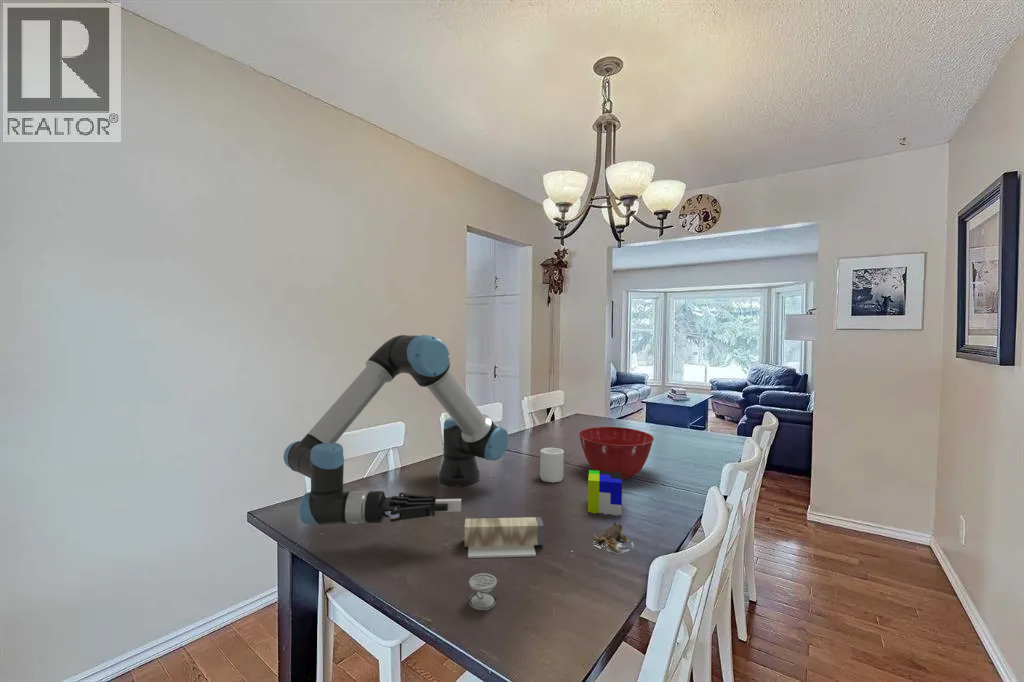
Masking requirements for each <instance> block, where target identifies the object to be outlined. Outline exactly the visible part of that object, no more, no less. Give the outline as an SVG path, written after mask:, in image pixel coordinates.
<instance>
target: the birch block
mask: <svg viewBox="0 0 1024 682" xmlns="http://www.w3.org/2000/svg"><path fill="white" fill-rule="evenodd" d="M544 527H545V526H544V522H543V519H542V517H541V516H535V517H534V516H530V517H492V518H491V517H487V518H486V517H485V518H484V517H483V518H481V517H480V518H478V517H477V518H465V519H464V548H468V547H484V546H523V545H534V546H544V532H545V531H544Z"/></svg>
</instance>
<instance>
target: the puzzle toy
mask: <svg viewBox="0 0 1024 682" xmlns="http://www.w3.org/2000/svg"><path fill="white" fill-rule="evenodd" d="M622 502H623V480H622V479H621V472H607V471H594V470H593V469H589V470H588V481H587V513H588V512H591V513H590V514H596V513H604V514H603V515H607V514H615V515H614V516H618V515H622V509H623V508H622V507H623V503H622Z"/></svg>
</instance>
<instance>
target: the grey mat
mask: <svg viewBox="0 0 1024 682" xmlns="http://www.w3.org/2000/svg"><path fill="white" fill-rule="evenodd" d="M467 549H468V550H467V559H485V558H486V559H487V558H488V559H489V558H492V559H493V558H523V557H524V558H525V557H527V558H529V557H537V554H536V549H535V545H523V546H484V547H467Z"/></svg>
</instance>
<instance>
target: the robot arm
mask: <svg viewBox="0 0 1024 682" xmlns="http://www.w3.org/2000/svg"><path fill="white" fill-rule="evenodd" d="M449 355H450V351H449V348H448V346H447V345H446V343H445V342H444V341H443V340H442V339H440V338H439V337H437V336H433V335H428V334H427V335H426V334H421V335H409V334H408V335H407V334H400V335H396V336H394V337H392V338H390V339H388V340H387V341H385V342H384V343H383V344H382V345H380V347H378V348H377V350H375V351H374V353H372V355H371V356H369V358H368V359H367V360H366V361H365V368H364V369H363V370H362V371H361V372H360V373H359V375H357V377H356V378H355V379H354V380H353V381H352V382H351V384H350V385H349V386H348V387H347V388H346V389H345V391H343V392H342V394H341V395H340V396H339V397H338V398H337V399H336V401H335V402H334V403H333V404H332V405H331V406H330V407H329V409H328V410H327V411H325V413H324V414H323V415H322V417H321V418H320V419H319V420H318V421H317V422H316V423H315V425H313V427H312V428H311V429H310V430H309V431H308V433H306V434H305V435H304V437H303V438H302V439H301V440H298V441H294V442H291V443H290V444H289V445H287V447H286V448H285V449H284V452H283V461H284V464H285V465H286V466H287V467H288V468H290V470H291V471H293V472H297V473H299V474H301V475H303V476H305V477H307V478H309V479H310V492H306V493H305V494H304V495H303V496H302V498H301V499H300V500H301V501H300V503H299V505H300V506H299V513H298V514H299V515H298V516H299V519H300V521H301V523H303V524H306V525H319V526H320V525H321V526H322V525H337V524H341V525H342V524H346V525H347V524H352V525H358V524H364V523H367V524H380V523H381V522H383V520H384V517H385V518H390V519H389V520H390V522H391V523H395V522H398V521H401V520H402V521H403V520H404V521H405V520H412V519H419V518H420V519H421V518H427V517H429V518H430V517H434V516H436V513H447V512H448V513H449V512H450V513H452V512H453V513H455V512H462V498H438V499H437V496H436V494H435V495H434V494H433V495H429V494H427V495H426V494H415V493H406V492H398V495H394V496H388V497H386V493H385V492H384V491H383V490H380V491H379V490H376V491H375V490H374V491H373V490H372V491H369V492H368V491H366V490H364V491H360V490H359V491H356V490H355V491H354V490H353V491H344V471H345V469H344V466H345V457H344V447H343V446H342V444H340V443H337V442H338V441H339V439H340V438H341V437H342V436H343V435H344V433H345V432H346V431H347V430H348V429H349V428H350V426H351V425H352V424H353V423H354V422H355V420H356V419H357V417H358V416H359V415H360V414H361V413H362V411H364V410H365V408H366V407H367V406H368V405H369V403H370V402H371V401H372V400H373V399H374V398H375V396H376V395H377V394H378V393H379V391H381V389H382V388H383V387H384V385H385V384H386V383H390V382H392V381H393V380H394V378H395V377H396V376H398V375H400V374H408V375H410V376H411V378H412V379H413V380H414V381H415V382H416V383H417V385H418V386H420V387H422V388H427V389H428V390H429V392H430V393H431V394H432V395H433V396H434V398H435V399H436V401H438V403H439V404H440V405H441V407H443V409H444V410H445V411H446V413H447V414H448V415H449V416H450V417H449V418H446V419H445V421H444V422H443V430H442V431H443V433H442V434H443V435H442V437H443V458H442V459H443V460H442V463H441V467H440V470H439V471H438V482H439V481H440V482H439V483H441V482H442V483H441V484H443V483H444V484H443V485H446V484H448V485H447V486H451V485H463V486H469V485H468V484H470V485H473V484H476V483H477V482H479V481H480V479H481V478H480V477H481V476H480V470H479V466H478V463H477V459H476V457H477V458H480V459H485V460H486V461H492V462H494V461H497V460H500V459H502V457H503V456H504V455H505V453H506V451H507V449H508V445H509V440H510V439H509V432H508V430H507V429H506V428H505V427H503V426H501V425H500V426H498V425H496V424H495V423H494V421H493V420H492V419H491V417H490V416H489V415H487V414H482V413H481V411H480V409H479V408H478V407H477V405H476V404H475V403H474V401H473V400H472V399H471V398H470V396H469V395H468V393H467V391H465V390H464V388H463V387H462V386H461V383H459V381H458V380H457V378H456V377H455V376H454V374H453V373H452V372H451V370H450V369H451V362H450V358H451V357H449ZM478 480H479V481H478ZM475 482H476V483H475ZM472 483H473V484H472Z"/></svg>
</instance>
